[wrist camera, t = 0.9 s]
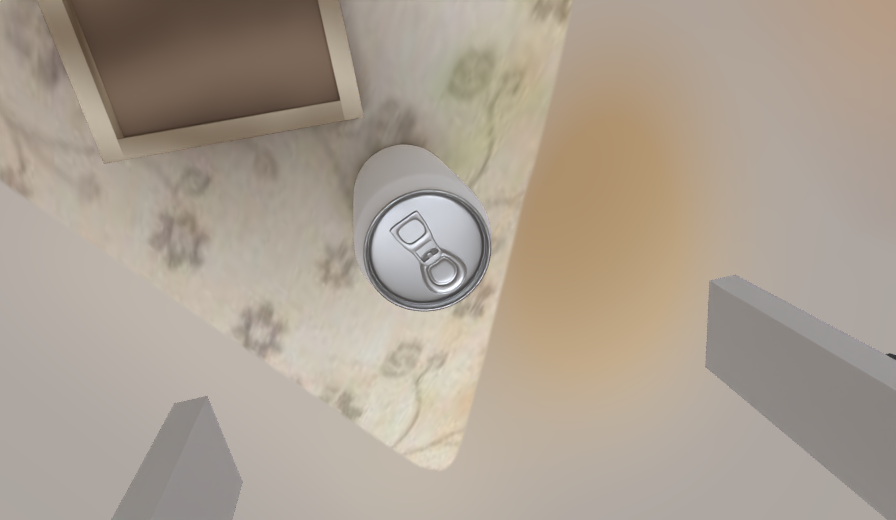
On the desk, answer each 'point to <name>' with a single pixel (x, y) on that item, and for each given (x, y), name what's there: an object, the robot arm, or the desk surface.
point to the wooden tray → (202, 69)
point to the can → (418, 230)
